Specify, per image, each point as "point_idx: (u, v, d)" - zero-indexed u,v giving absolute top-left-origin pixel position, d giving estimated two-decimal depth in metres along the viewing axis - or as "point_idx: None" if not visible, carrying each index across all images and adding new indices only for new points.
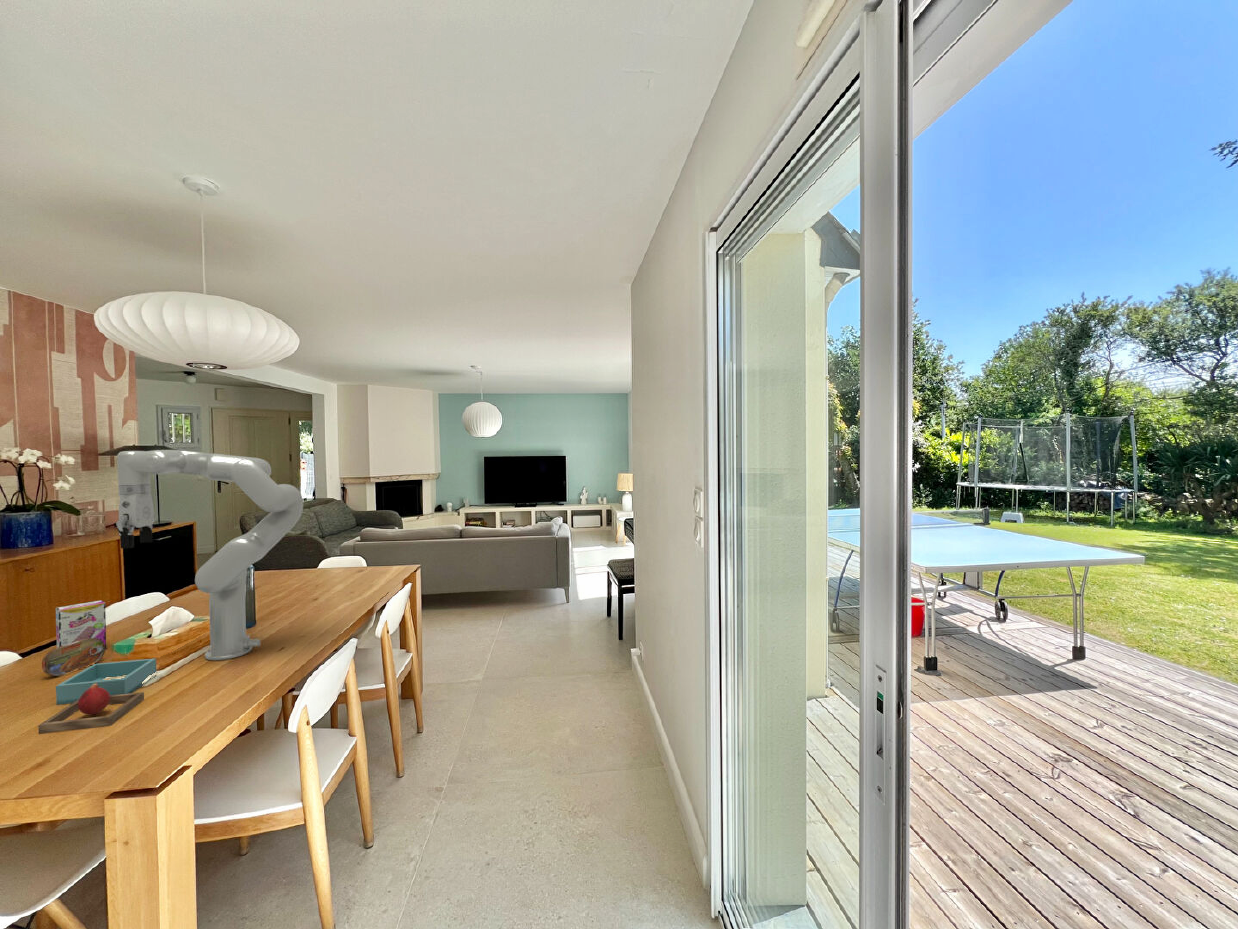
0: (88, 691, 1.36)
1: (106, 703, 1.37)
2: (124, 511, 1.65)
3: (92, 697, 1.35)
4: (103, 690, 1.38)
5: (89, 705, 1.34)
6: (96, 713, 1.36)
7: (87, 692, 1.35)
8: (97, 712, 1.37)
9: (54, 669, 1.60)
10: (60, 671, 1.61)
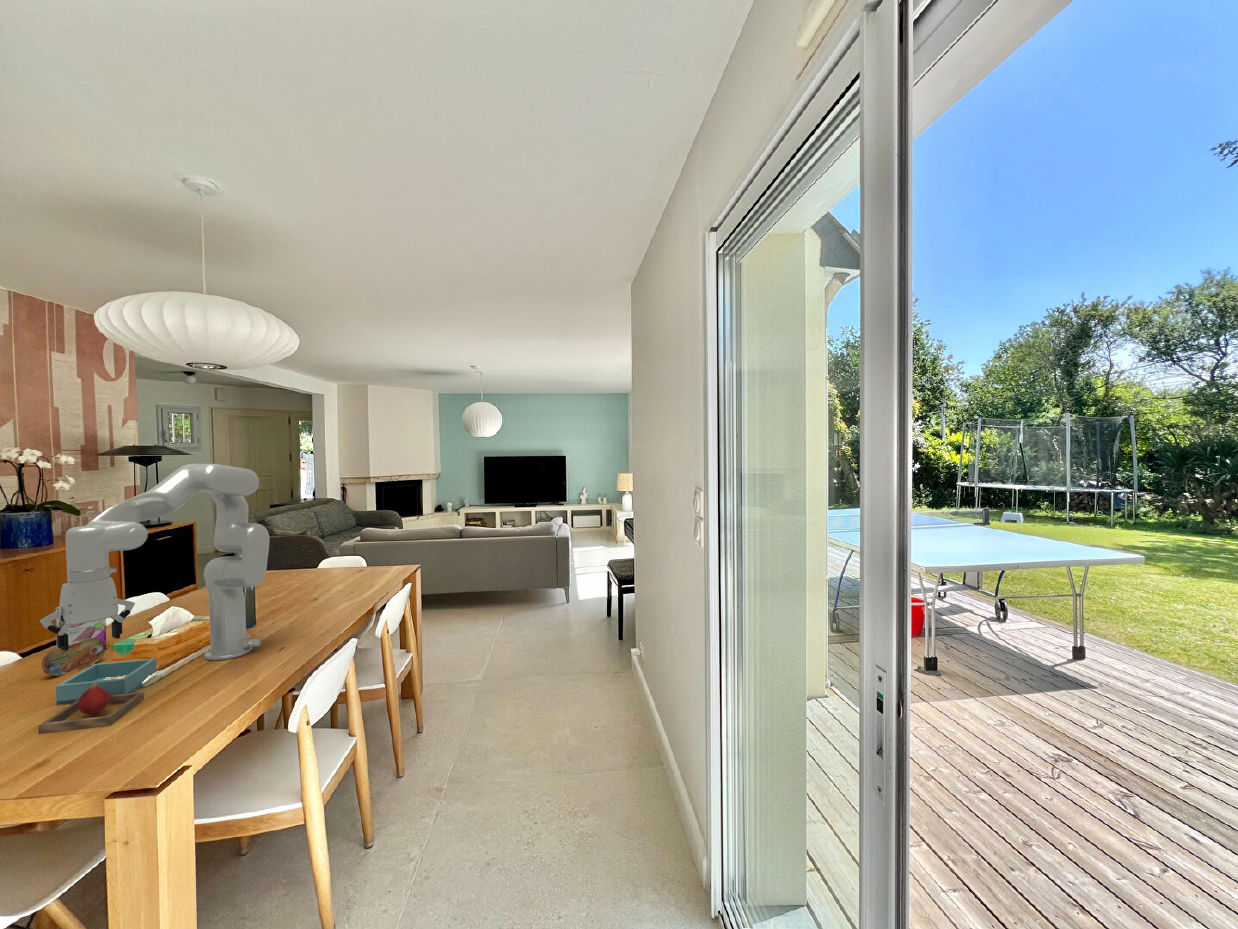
0: (88, 691, 1.36)
1: (106, 703, 1.37)
2: None
3: (92, 697, 1.35)
4: (103, 690, 1.38)
5: (89, 705, 1.34)
6: (96, 713, 1.36)
7: (87, 692, 1.35)
8: (97, 712, 1.37)
9: (54, 669, 1.60)
10: (60, 671, 1.61)
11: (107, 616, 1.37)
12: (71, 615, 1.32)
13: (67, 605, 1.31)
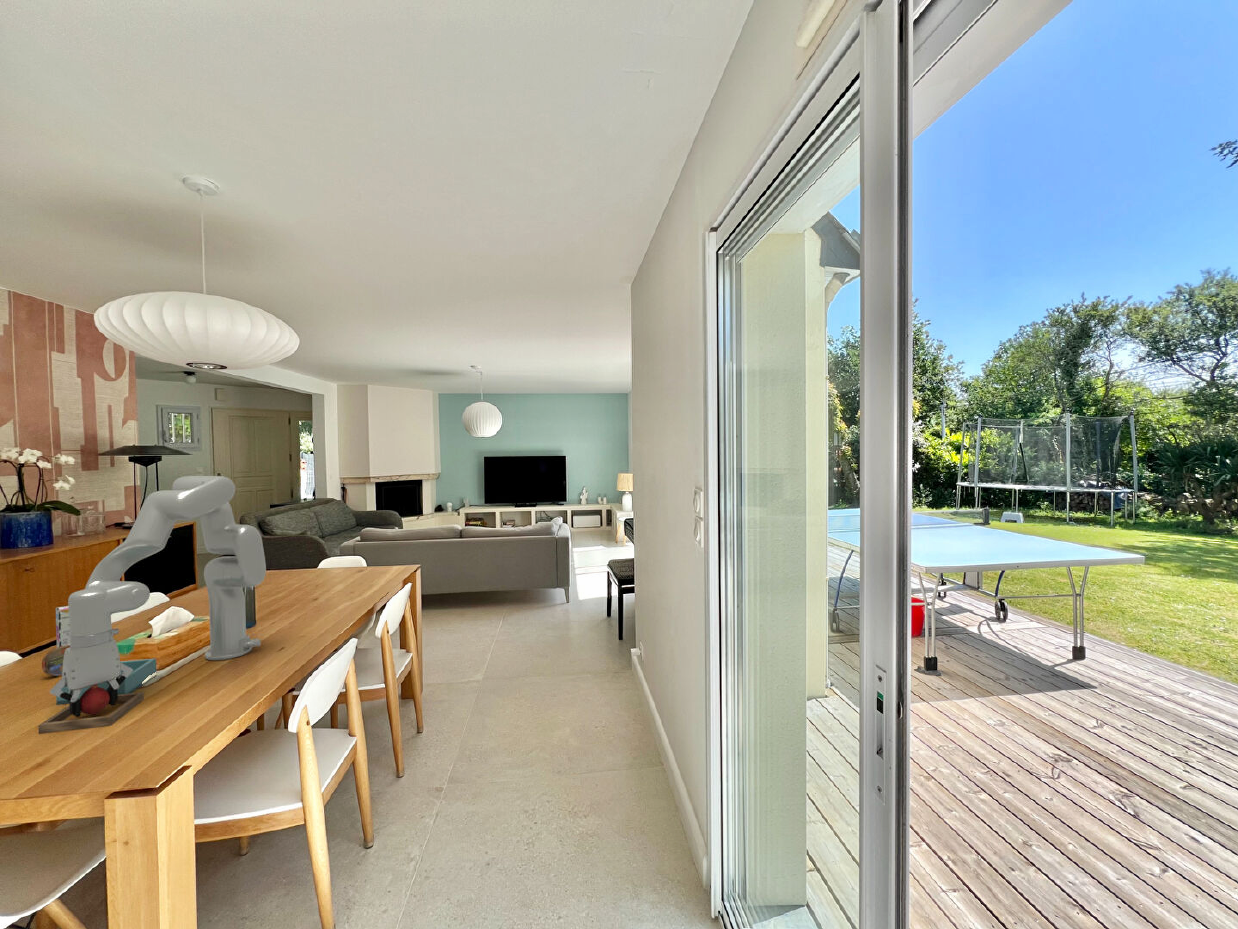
0: (88, 691, 1.36)
1: (106, 703, 1.37)
2: None
3: (92, 697, 1.35)
4: (103, 690, 1.38)
5: (89, 705, 1.34)
6: (96, 713, 1.36)
7: (87, 692, 1.35)
8: (97, 712, 1.37)
9: (54, 669, 1.60)
10: (60, 671, 1.61)
11: (110, 679, 1.38)
12: (74, 680, 1.32)
13: (70, 671, 1.32)
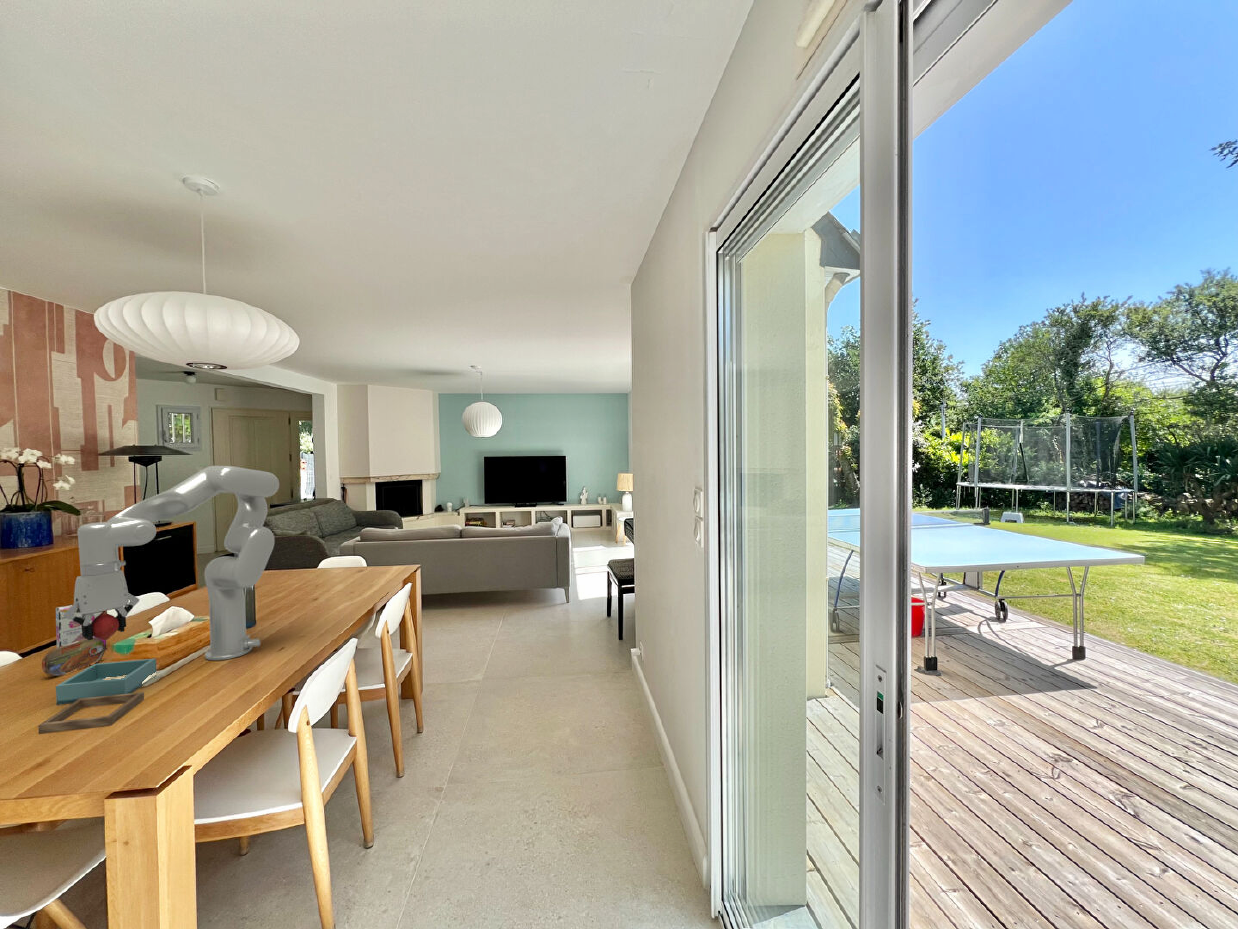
0: (99, 617, 1.46)
1: (116, 628, 1.48)
2: None
3: (103, 622, 1.45)
4: (112, 616, 1.48)
5: (100, 629, 1.45)
6: (106, 637, 1.47)
7: (98, 618, 1.45)
8: (108, 636, 1.47)
9: (54, 669, 1.60)
10: (60, 671, 1.61)
11: (119, 606, 1.48)
12: (86, 605, 1.42)
13: (82, 596, 1.42)
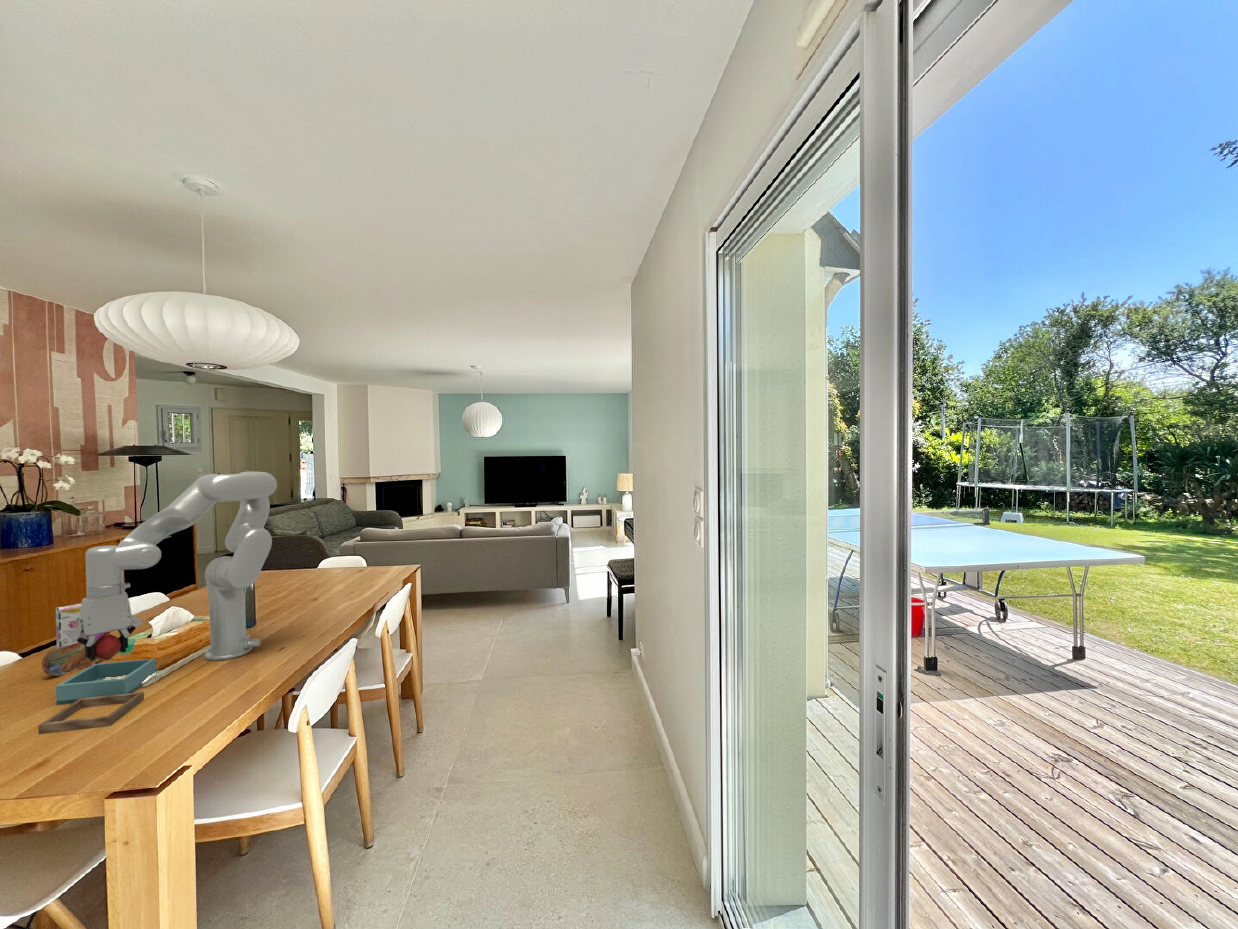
0: (102, 637, 1.50)
1: (118, 649, 1.52)
2: None
3: (106, 643, 1.50)
4: (115, 637, 1.52)
5: (103, 650, 1.49)
6: (108, 658, 1.51)
7: (101, 638, 1.50)
8: (109, 657, 1.51)
9: (54, 669, 1.60)
10: (60, 671, 1.61)
11: (122, 627, 1.53)
12: (90, 627, 1.47)
13: (86, 618, 1.46)
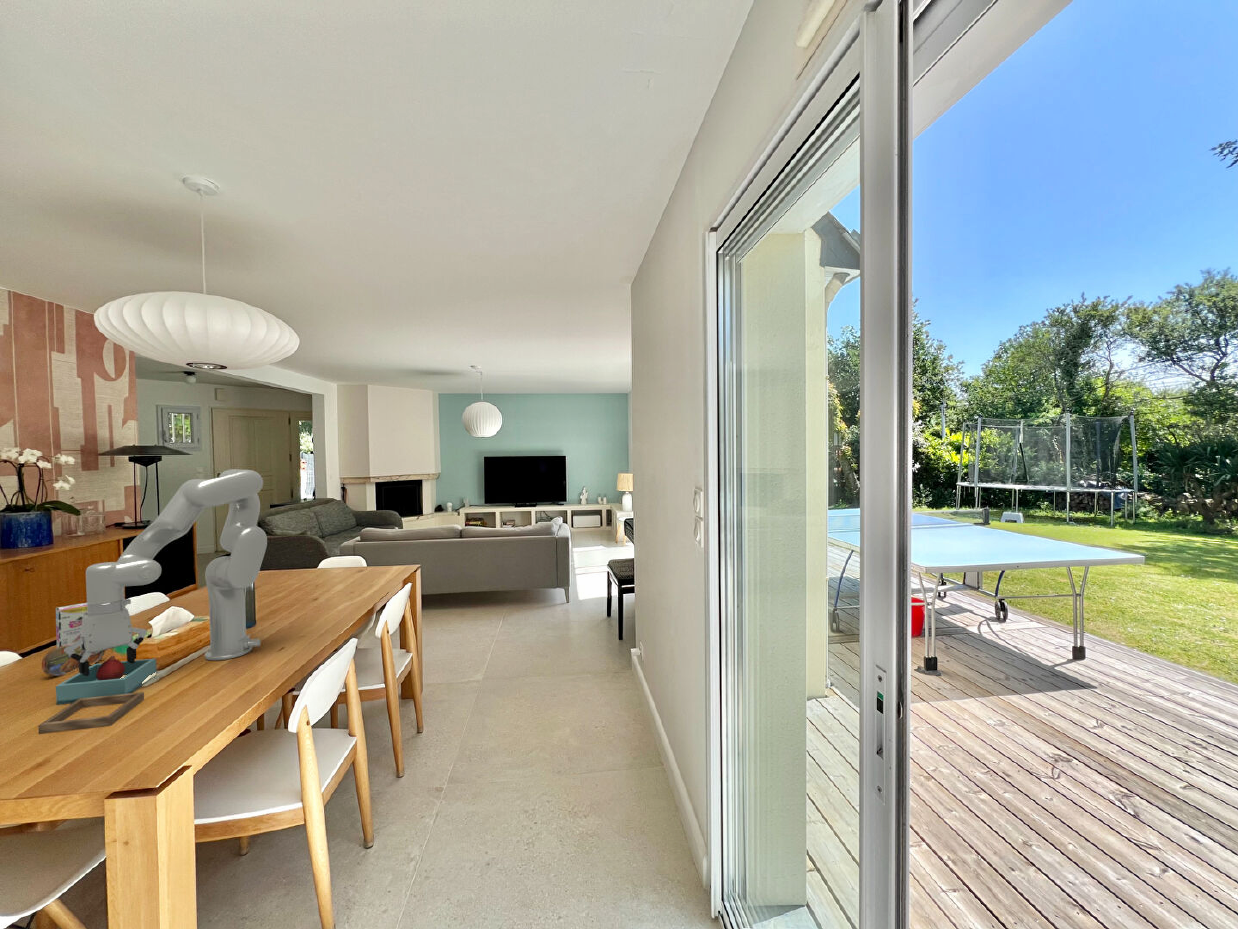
0: (106, 662, 1.51)
1: (121, 674, 1.52)
2: None
3: (110, 668, 1.50)
4: (119, 662, 1.53)
5: (107, 675, 1.50)
6: None
7: (105, 663, 1.51)
8: None
9: (54, 669, 1.60)
10: (60, 671, 1.61)
11: (123, 644, 1.53)
12: (91, 644, 1.47)
13: (88, 635, 1.46)
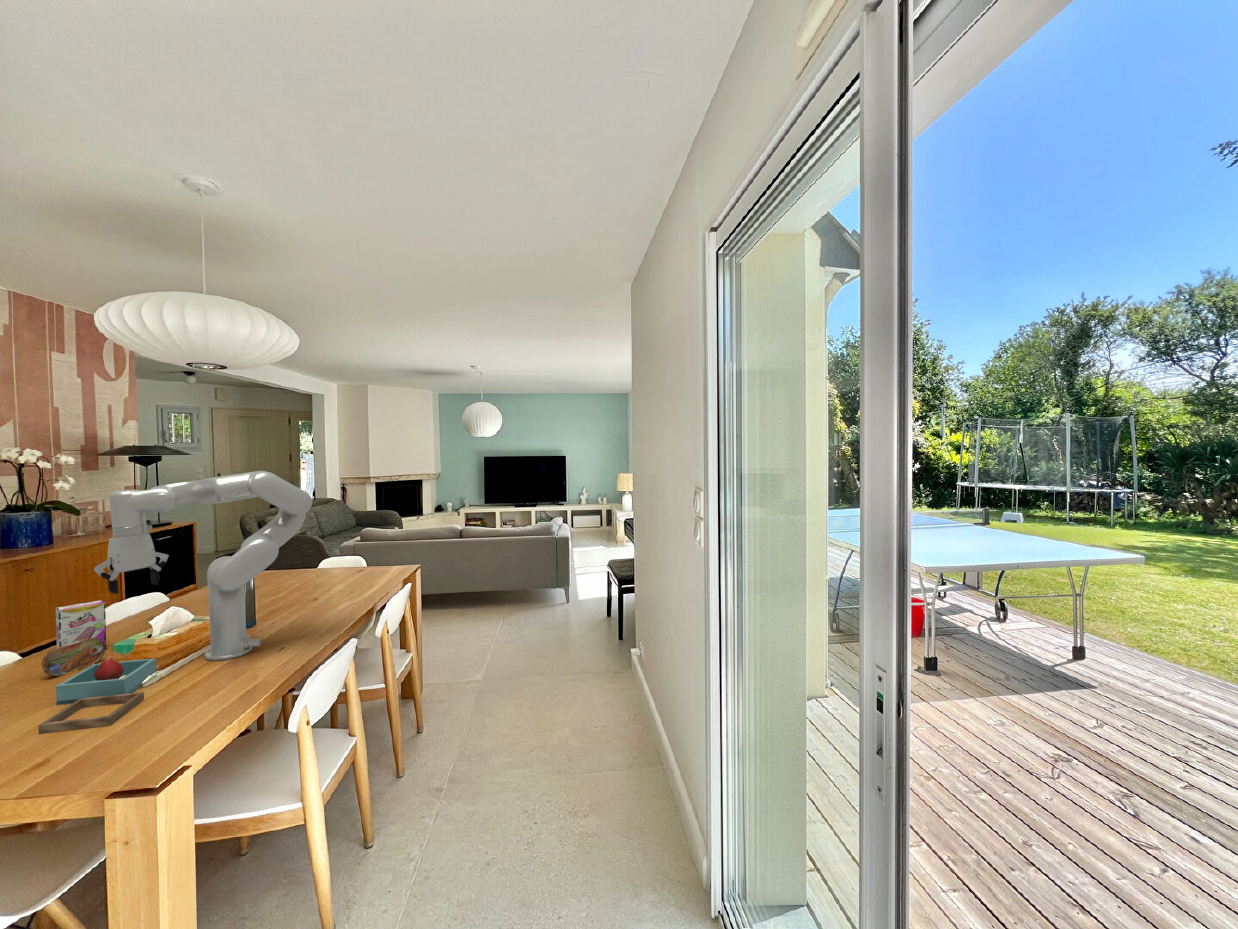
0: (103, 663, 1.50)
1: (120, 674, 1.52)
2: None
3: (107, 669, 1.50)
4: (116, 662, 1.52)
5: (104, 676, 1.49)
6: None
7: (102, 664, 1.50)
8: None
9: (54, 669, 1.60)
10: (60, 671, 1.61)
11: (147, 565, 1.63)
12: (119, 564, 1.57)
13: (115, 555, 1.56)
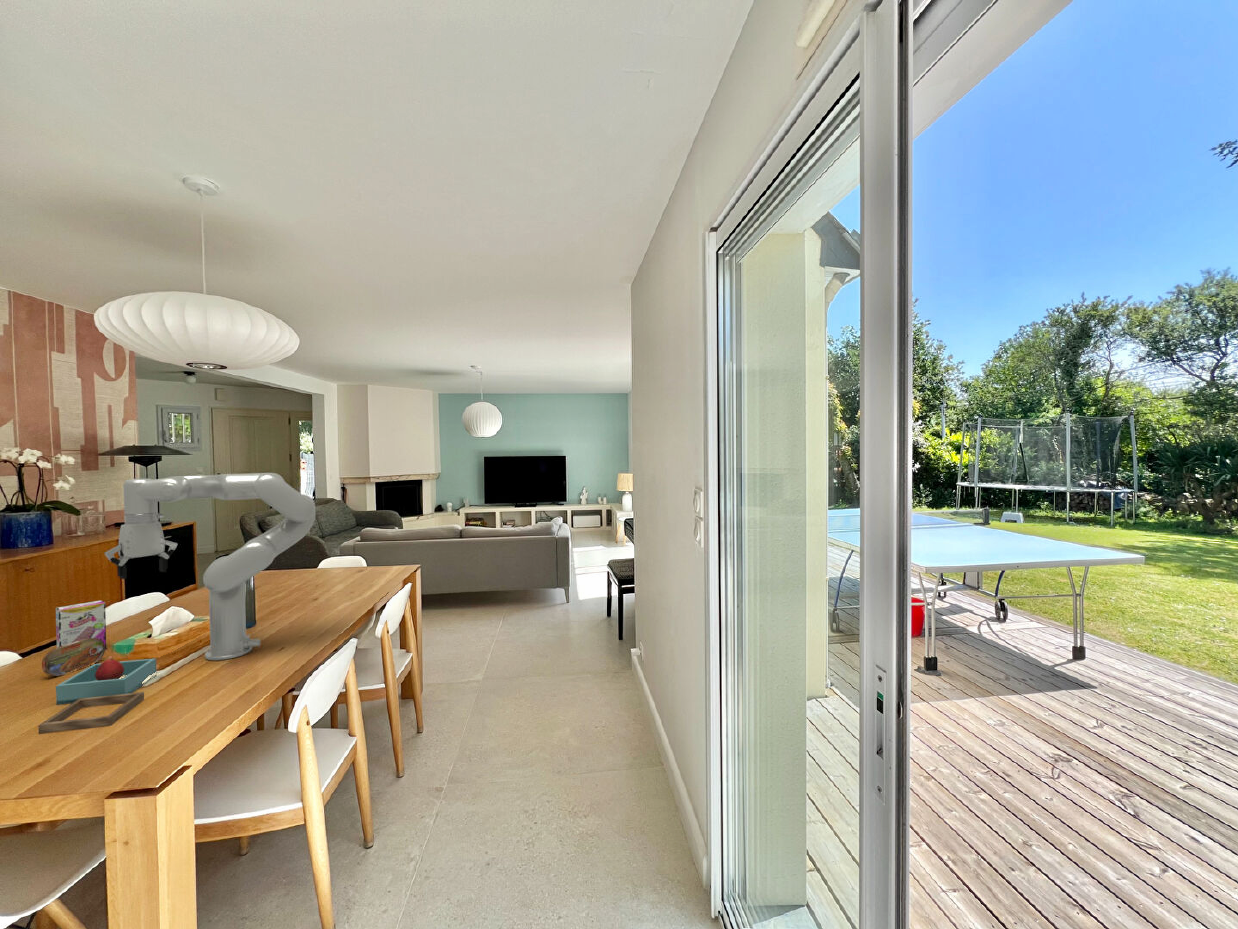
0: (104, 663, 1.51)
1: (120, 674, 1.52)
2: None
3: (108, 669, 1.50)
4: (118, 662, 1.53)
5: (105, 676, 1.49)
6: None
7: (103, 664, 1.50)
8: None
9: (54, 669, 1.60)
10: (60, 671, 1.61)
11: (156, 553, 1.68)
12: (129, 550, 1.62)
13: (125, 541, 1.61)
